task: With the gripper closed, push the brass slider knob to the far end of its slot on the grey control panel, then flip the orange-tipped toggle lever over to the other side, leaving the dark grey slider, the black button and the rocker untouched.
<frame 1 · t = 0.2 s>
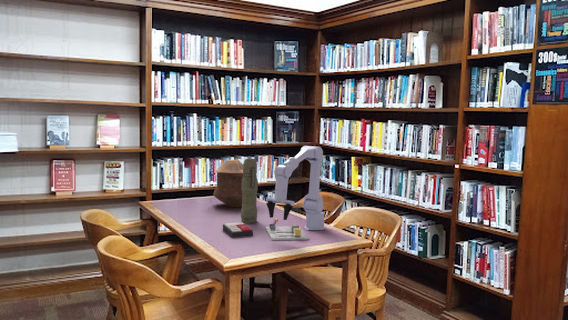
hand: (278, 218, 219), 10 cm above the table, tool pointing down, fingers open, 7 cm apart
panel: (286, 234, 231), on the table
slider brass: (297, 231, 224), point 3 cm above the table, slide at 0.0 cm
toggle lever: (274, 223, 237), point 4 cm above the table, hinge at -30.0°
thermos: (248, 221, 256), on the table
slider grey: (294, 228, 231), point 3 cm above the table, slide at 0.0 cm
pottery vessel: (233, 206, 298), on the table
red and grey box: (237, 234, 231), on the table
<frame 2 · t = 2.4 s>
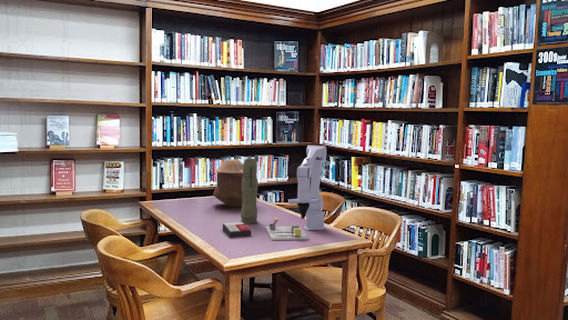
hand: (302, 218, 224), 10 cm above the table, tool pointing down, fingers closed
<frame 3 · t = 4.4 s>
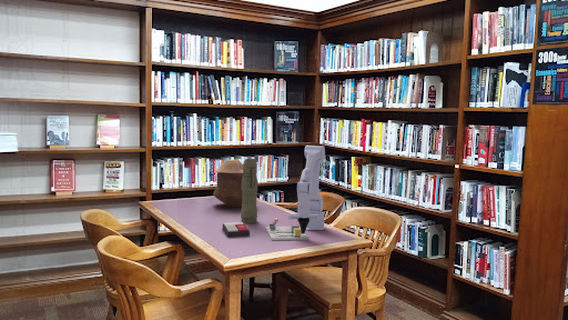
hand: (302, 233, 224), 2 cm above the table, tool pointing down, fingers closed
slider brass: (297, 231, 224), point 3 cm above the table, slide at 0.0 cm, touching gripper
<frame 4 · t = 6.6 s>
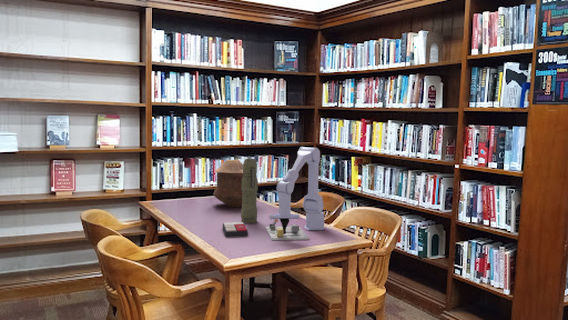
hand: (284, 233, 223), 2 cm above the table, tool pointing down, fingers closed, pressing on slider brass
slider brass: (279, 232, 222), point 3 cm above the table, slide at 8.6 cm, touching gripper
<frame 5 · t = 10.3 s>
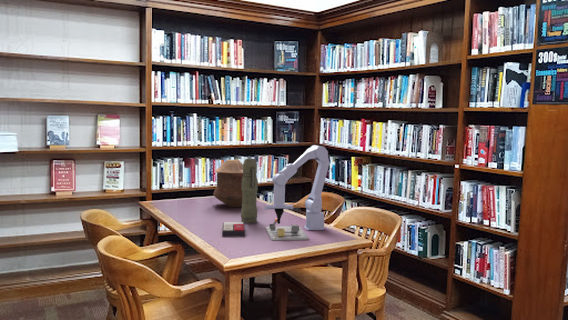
hand: (278, 223, 237), 4 cm above the table, tool pointing down, fingers closed, pressing on toggle lever
slider brass: (281, 232, 222), point 3 cm above the table, slide at 8.1 cm
toggle lever: (274, 223, 237), point 4 cm above the table, hinge at -29.8°, touching gripper
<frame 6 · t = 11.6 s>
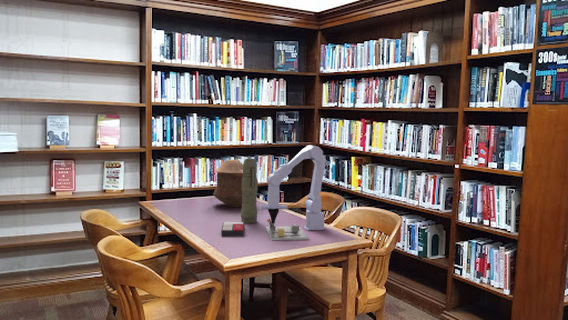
hand: (273, 223, 237), 4 cm above the table, tool pointing down, fingers closed
toggle lever: (270, 223, 236), point 4 cm above the table, hinge at 29.8°
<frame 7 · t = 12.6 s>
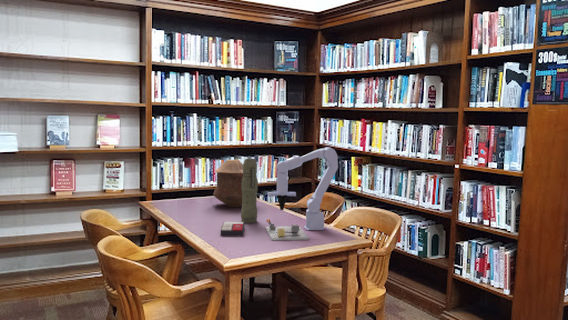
hand: (281, 209, 242), 10 cm above the table, tool pointing down, fingers closed
toggle lever: (270, 223, 236), point 4 cm above the table, hinge at 33.5°
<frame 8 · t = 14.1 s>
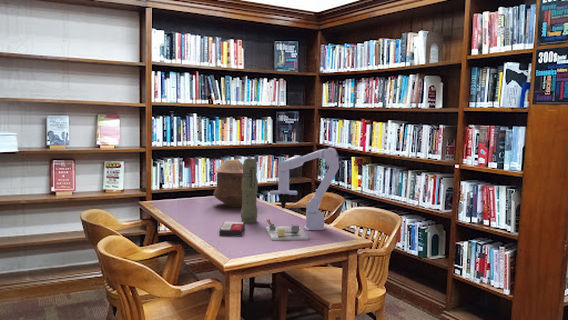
hand: (283, 208, 246), 10 cm above the table, tool pointing down, fingers closed
toggle lever: (270, 223, 236), point 4 cm above the table, hinge at 34.2°
at the end: slider brass slide at 8.1 cm; toggle lever at +34° (first picture: -30°); slider grey slide at 0.0 cm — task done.
